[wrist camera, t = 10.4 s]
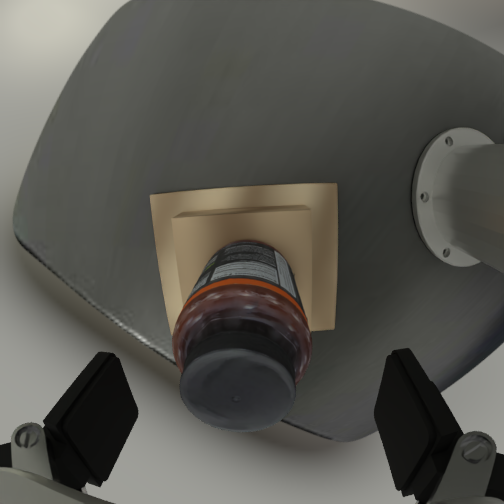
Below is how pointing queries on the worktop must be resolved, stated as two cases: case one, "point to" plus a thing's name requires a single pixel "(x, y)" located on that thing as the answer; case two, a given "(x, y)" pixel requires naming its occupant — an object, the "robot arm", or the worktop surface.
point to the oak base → (250, 197)
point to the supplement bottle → (242, 339)
